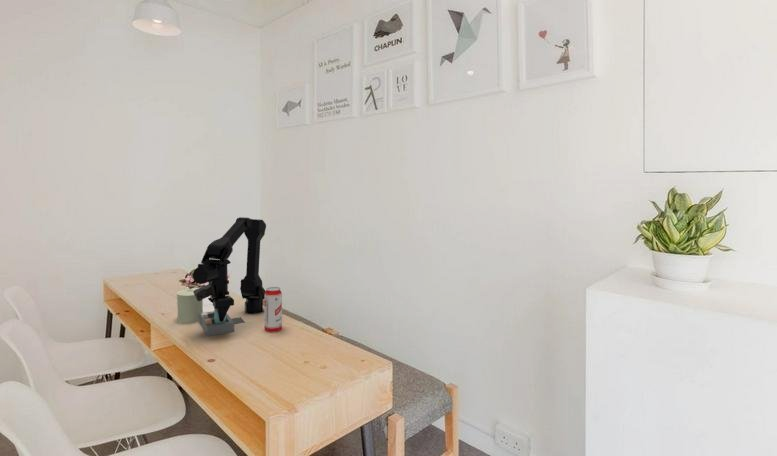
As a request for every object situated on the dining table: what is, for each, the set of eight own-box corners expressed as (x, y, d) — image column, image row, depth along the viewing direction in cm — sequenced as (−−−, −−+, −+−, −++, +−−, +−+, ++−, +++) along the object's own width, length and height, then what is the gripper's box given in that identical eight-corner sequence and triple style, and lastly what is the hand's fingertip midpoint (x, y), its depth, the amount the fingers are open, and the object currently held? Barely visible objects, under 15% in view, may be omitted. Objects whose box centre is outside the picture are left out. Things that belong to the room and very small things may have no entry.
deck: (240, 318, 163) (240, 317, 163) (245, 323, 157) (245, 322, 157) (226, 320, 160) (226, 319, 160) (230, 326, 154) (230, 324, 154)
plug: (224, 327, 151) (224, 306, 151) (226, 330, 148) (227, 309, 147) (213, 328, 149) (213, 307, 148) (215, 332, 146) (215, 310, 145)
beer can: (284, 328, 153) (284, 287, 152) (278, 334, 147) (278, 291, 146) (268, 327, 154) (268, 286, 152) (261, 333, 148) (261, 290, 146)
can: (202, 315, 165) (201, 286, 164) (204, 322, 157) (204, 292, 156) (176, 318, 161) (176, 289, 159) (177, 326, 153) (177, 295, 151)
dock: (223, 319, 161) (223, 307, 161) (234, 333, 147) (234, 319, 147) (199, 323, 156) (199, 310, 156) (207, 337, 142) (207, 323, 142)
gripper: (190, 274, 150) (191, 315, 151) (199, 286, 134) (200, 331, 136) (222, 272, 156) (223, 311, 158) (234, 282, 140) (234, 325, 142)
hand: (219, 319), depth 148 cm, fingers open, 5 cm apart
